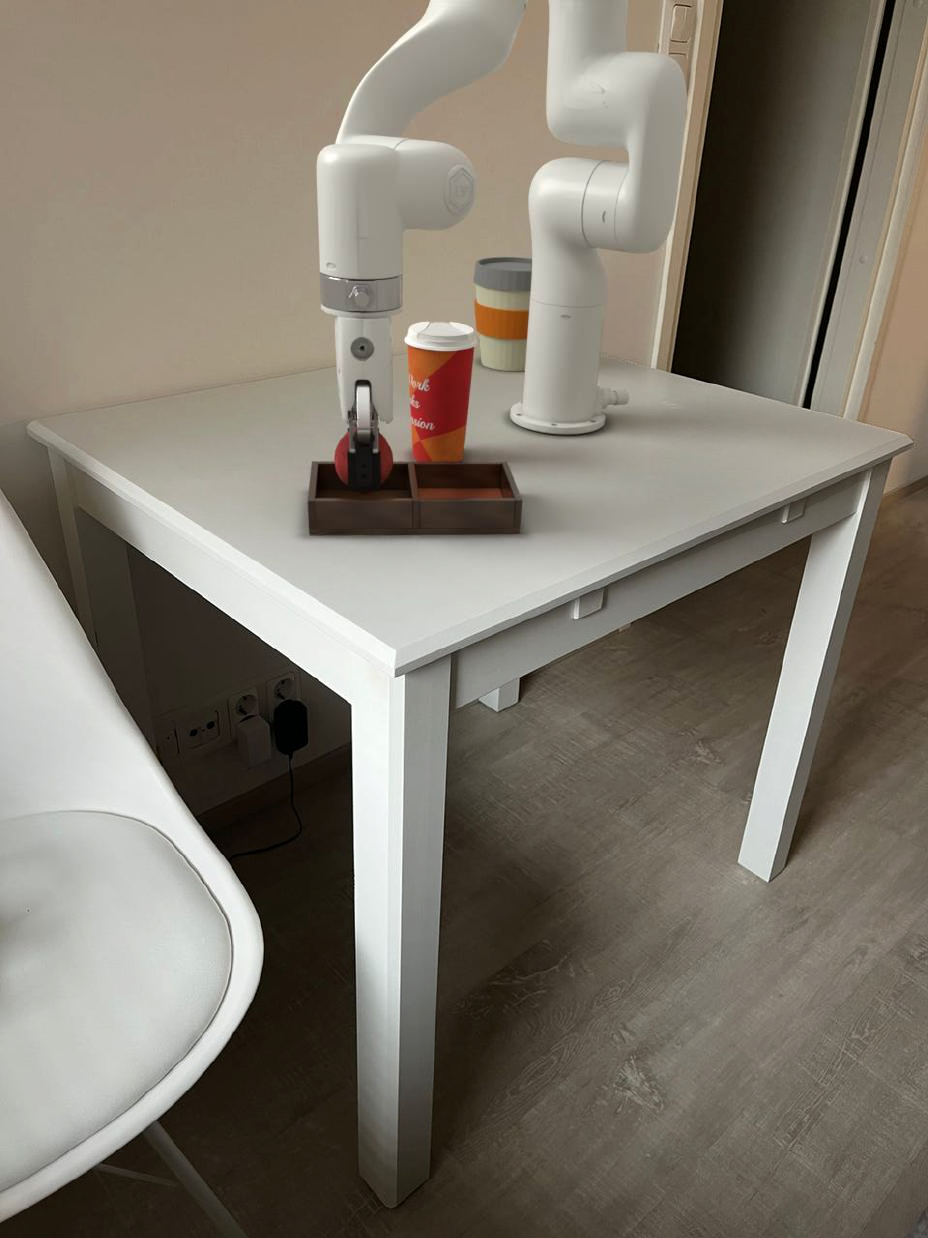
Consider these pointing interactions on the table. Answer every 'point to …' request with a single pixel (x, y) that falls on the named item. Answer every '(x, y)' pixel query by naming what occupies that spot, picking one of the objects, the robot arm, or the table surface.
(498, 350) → the reusable coffee cup
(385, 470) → the red round fruit
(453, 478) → the organizer
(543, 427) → the robot arm
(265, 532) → the table surface
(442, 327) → the coffee cup
